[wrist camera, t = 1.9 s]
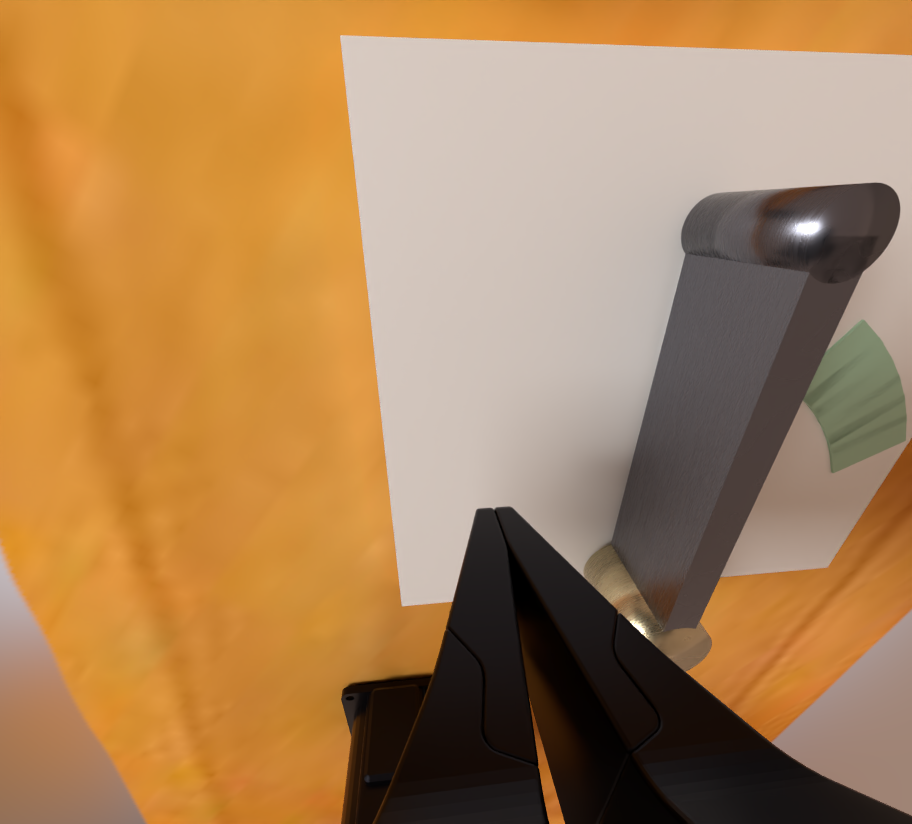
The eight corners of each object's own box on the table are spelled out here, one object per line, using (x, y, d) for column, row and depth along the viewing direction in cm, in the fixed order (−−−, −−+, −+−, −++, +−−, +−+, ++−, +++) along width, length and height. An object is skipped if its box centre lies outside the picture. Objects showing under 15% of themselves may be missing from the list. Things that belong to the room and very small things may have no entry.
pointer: (642, 586, 18) (697, 675, 15) (578, 592, 18) (618, 684, 15) (774, 192, 11) (952, 182, 7) (667, 192, 10) (796, 181, 7)
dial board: (801, 545, 21) (829, 569, 20) (402, 579, 19) (401, 608, 18) (1072, 80, 12) (1160, 62, 10) (349, 59, 10) (339, 33, 9)
